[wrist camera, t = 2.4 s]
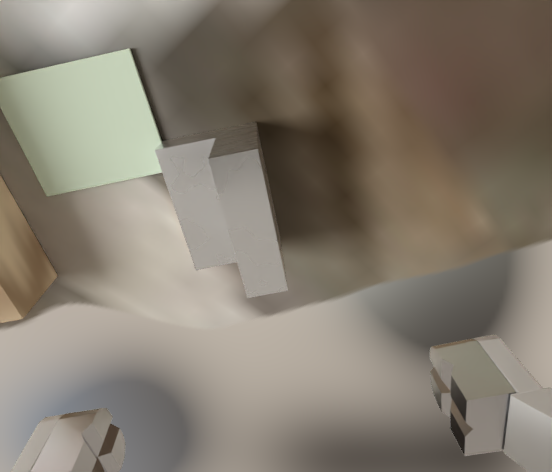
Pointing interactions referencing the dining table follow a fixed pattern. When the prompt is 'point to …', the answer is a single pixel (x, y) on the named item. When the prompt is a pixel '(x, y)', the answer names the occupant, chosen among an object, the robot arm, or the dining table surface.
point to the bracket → (226, 204)
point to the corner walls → (19, 262)
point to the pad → (83, 122)
